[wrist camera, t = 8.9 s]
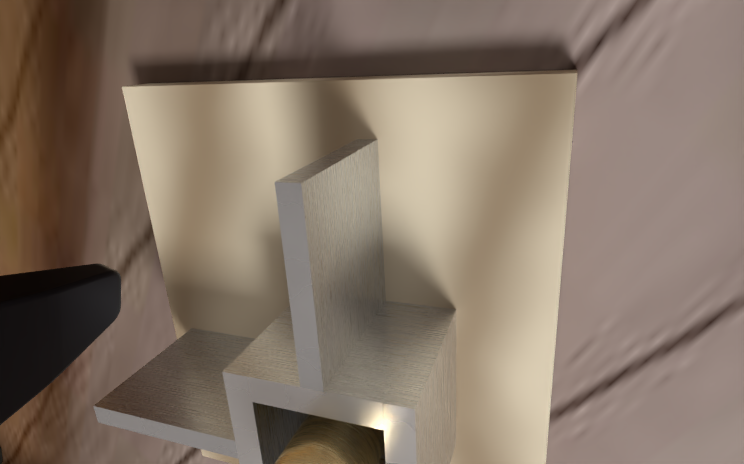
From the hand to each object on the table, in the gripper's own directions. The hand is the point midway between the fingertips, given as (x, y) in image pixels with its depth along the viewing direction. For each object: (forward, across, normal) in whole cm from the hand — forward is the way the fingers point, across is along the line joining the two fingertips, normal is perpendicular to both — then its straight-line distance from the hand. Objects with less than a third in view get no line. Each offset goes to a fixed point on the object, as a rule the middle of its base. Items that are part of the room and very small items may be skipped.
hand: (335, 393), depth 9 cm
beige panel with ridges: (+13, +4, +7) cm, 15 cm away
